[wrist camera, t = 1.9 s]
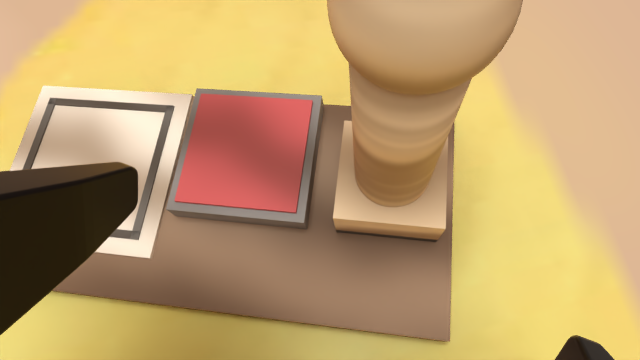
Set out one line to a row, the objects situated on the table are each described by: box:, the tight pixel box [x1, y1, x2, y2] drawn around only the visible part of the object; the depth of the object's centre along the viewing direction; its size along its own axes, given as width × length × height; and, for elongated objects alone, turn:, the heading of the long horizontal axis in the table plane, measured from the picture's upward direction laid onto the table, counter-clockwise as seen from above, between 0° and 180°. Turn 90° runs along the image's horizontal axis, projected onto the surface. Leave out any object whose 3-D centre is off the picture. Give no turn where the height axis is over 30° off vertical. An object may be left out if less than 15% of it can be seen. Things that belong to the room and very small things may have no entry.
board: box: [10, 86, 454, 341], centre depth 21 cm, size 11×23×2 cm, turn 83°
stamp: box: [327, 0, 523, 242], centre depth 14 cm, size 5×5×14 cm
